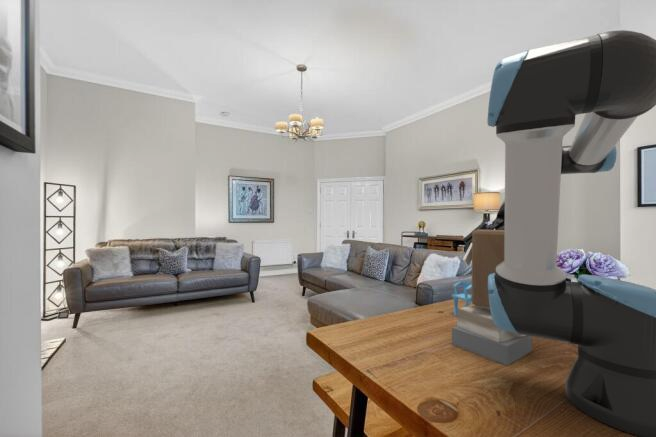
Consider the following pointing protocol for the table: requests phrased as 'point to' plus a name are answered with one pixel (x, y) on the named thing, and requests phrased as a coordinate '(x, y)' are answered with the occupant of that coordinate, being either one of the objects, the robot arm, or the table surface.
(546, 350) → the table surface
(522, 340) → the tower base
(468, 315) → the tower top
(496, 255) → the block
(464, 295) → the chair
